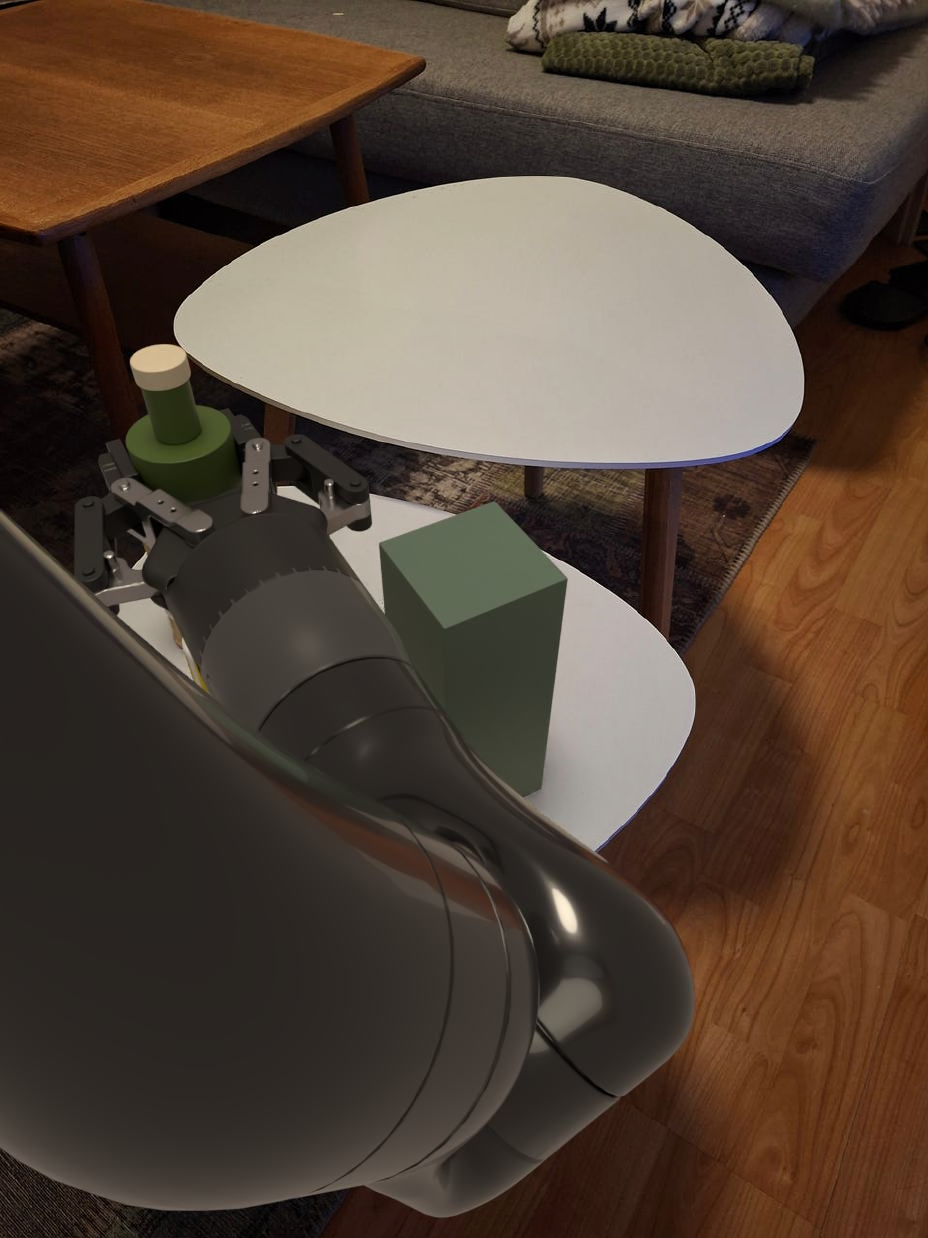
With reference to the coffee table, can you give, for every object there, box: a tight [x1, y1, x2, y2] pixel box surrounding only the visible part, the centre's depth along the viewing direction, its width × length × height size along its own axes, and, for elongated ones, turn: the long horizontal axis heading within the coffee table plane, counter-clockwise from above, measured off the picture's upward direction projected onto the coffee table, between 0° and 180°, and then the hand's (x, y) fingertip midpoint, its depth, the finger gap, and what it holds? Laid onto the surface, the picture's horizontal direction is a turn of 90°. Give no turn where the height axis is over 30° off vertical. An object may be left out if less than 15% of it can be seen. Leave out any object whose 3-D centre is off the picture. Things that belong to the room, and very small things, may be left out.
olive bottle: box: [125, 343, 242, 504], centre depth 45 cm, size 5×5×13 cm
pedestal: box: [378, 501, 569, 798], centre depth 55 cm, size 8×8×20 cm
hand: (171, 440), depth 46 cm, fingers closed on olive bottle, 5 cm apart
